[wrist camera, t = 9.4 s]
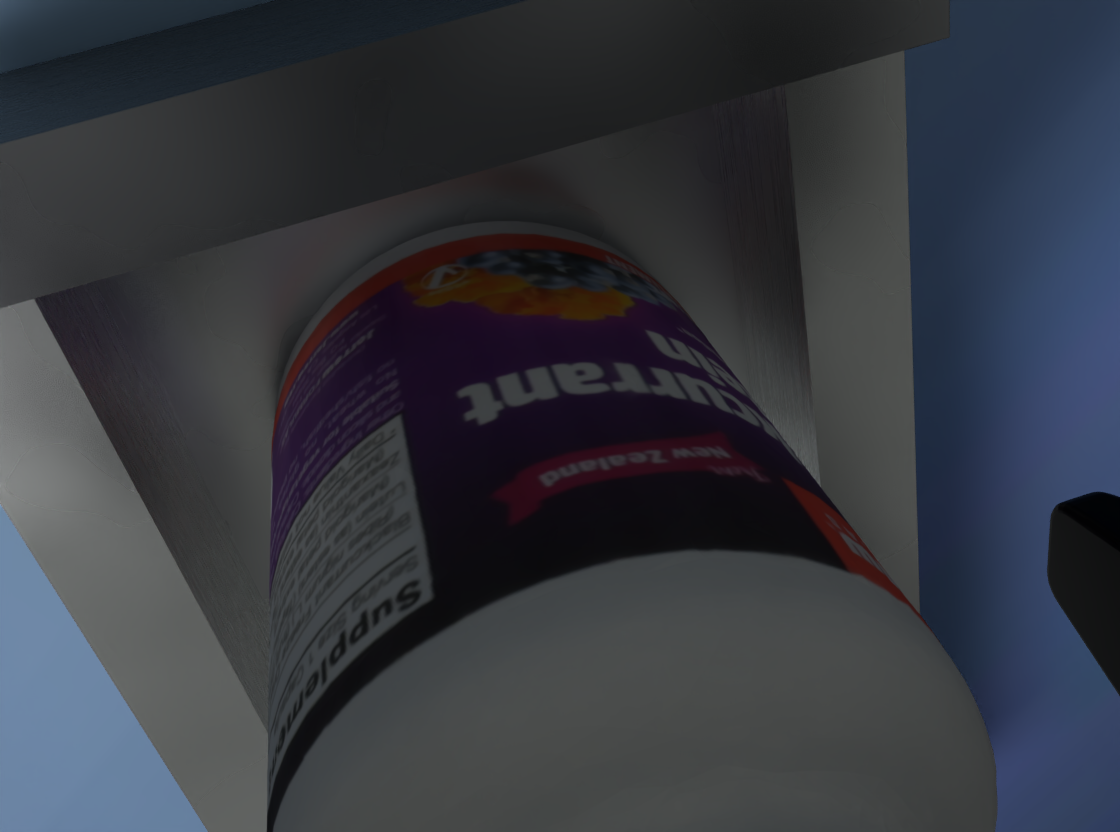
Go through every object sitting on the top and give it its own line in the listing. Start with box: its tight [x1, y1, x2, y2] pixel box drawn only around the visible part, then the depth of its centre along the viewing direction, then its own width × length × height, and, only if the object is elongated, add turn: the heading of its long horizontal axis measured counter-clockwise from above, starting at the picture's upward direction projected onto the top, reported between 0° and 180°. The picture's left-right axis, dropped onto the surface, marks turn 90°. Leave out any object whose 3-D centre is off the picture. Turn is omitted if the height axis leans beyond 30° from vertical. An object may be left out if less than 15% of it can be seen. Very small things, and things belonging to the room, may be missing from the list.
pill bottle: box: [267, 221, 997, 832], centre depth 9 cm, size 5×5×10 cm
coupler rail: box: [0, 0, 950, 832], centre depth 14 cm, size 11×17×4 cm, turn 12°
